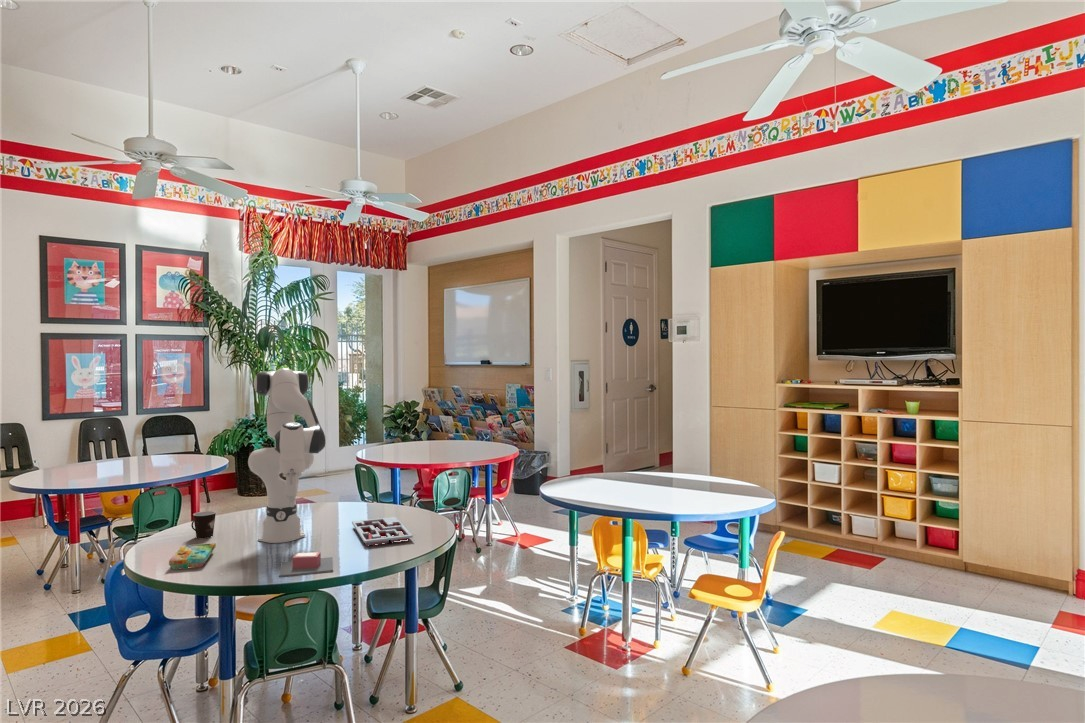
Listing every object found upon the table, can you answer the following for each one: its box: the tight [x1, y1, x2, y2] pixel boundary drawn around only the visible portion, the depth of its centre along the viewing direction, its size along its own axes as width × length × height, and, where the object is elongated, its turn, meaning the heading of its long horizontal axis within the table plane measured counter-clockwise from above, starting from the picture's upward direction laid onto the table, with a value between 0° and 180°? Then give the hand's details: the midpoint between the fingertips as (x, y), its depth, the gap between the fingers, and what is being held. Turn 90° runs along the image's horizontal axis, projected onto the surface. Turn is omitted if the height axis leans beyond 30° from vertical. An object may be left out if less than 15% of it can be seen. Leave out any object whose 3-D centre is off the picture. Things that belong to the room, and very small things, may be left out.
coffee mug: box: [190, 510, 216, 539], centre depth 277 cm, size 12×9×10 cm
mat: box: [278, 556, 334, 578], centre depth 237 cm, size 16×18×1 cm
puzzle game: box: [168, 542, 217, 570], centre depth 245 cm, size 12×5×20 cm
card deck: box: [291, 551, 322, 569], centre depth 237 cm, size 9×6×4 cm, turn 96°
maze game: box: [351, 516, 414, 547], centre depth 281 cm, size 35×20×3 cm, turn 24°
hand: (292, 503), depth 242 cm, fingers open, 8 cm apart
